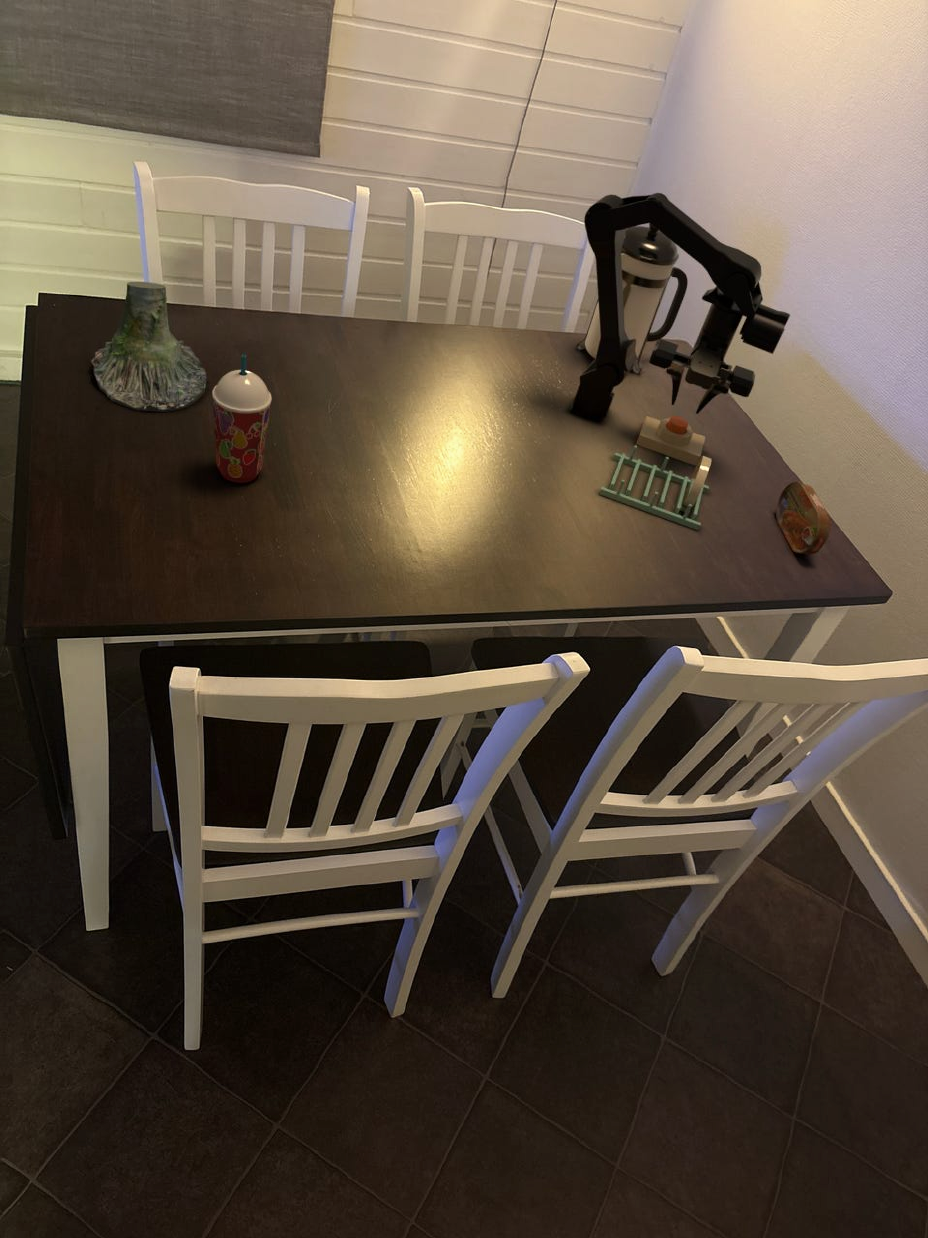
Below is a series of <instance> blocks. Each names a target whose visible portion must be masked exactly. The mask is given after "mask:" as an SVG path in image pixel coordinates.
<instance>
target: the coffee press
mask: <svg viewBox="0 0 928 1238" xmlns="http://www.w3.org/2000/svg"><path fill="white" fill-rule="evenodd" d="M678 248H679V247H678V245H676V244H675V243H674V242H673V241H671V240H670V239H669V238H668V237H666V236H665V235H664V234H663V233H661V232H660V231H659V230H658V229H657V228H655V227H654V226H653V225H652V224H650V223H648V226H644V225H643V226H642V225H638V226H634V227H631V228H627V229H626V232H625V236H624V241H623V245H622V249H621V263H622V284H623V304H624V325H625V332H626V335H627V337H628V339H629V340H631V339H636V348H635V351H636V355H637V358H638V359H637V360H636V362H635V363H634V364H636V363H637V366H638V369H639V370H637V369H636V366H635V365H634V366H633V368H632V371H633V373H634V374H636V375H638V374H640V373H641V372H642V370H643V366H642V363H641V358H642V354H643V353H644V349H645V347H646V345H647V343H648V342H649V343H652V342H657V341H658V340H660V339H663V338H664V337H665V336H666V335H668V333H669V332H670V331H671V330H672V329H673V328H672V327H673V326H674V323H675V321H676V319H677V317H678V313H679V312H680V309H681V306H682V304H683V301H684V298H685V295H686V293H687V290H688V282H689V280H688V276H687V274H686V273H685V271H683V270H682V269H681V268H679V267H676V266H675V264H676V263H678V260H679V257H680V255H679V252H678ZM671 277H672V278H675V279H676V280H677V287H676V291H675V294H674V296H673V298H672V301H671V304H670V307H669V309H668V312H667V314H666V317H665V320H664V322H663V324H662V325H661V327H660V328H659V329H658V330H655V331H654V332H651V330H652V329H653V325H654V322H655V320H656V317H657V314H658V312H659V309H660V307H661V303H662V301H663V298H664V297H665V293H666V290H667V287H668V285H669V282H670V279H671ZM600 336H601V335H600V319H599V303H598V299H597V300H596V303H595V306H594V309H593V312H592V315H591V319H590V321H589V325H588V328H587V331H586V333H585V337H584V338H583V339H582V340H580V341H579V342H578V343H577V344H576V349H577V350H578V351H583V350H586V352H587V353H588V354H589V355H590V356H591V357H592V358H593V359H594V360H595V359H596V354H597V350H598V346H599V342H600ZM583 342H584V345H585V346H583V347H582V346H581V345H580V344H581V343H583Z"/></svg>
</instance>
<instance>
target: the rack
mask: <svg viewBox="0 0 928 1238" xmlns="http://www.w3.org/2000/svg"><path fill="white" fill-rule="evenodd" d="M637 449H638V445H634V446H633V448H632V450H631V453H630V455H629V456H626V453H623V452H622V453H617V452H615V453H614V456H613V458H612V460H613V461H615V462H618V464H617V465H616V469H615V471H614V474H613V476H612V479H611V482H610V484H609V486H608V488H607V487H604V486H602V487H601V488H600V491H599V496H603V497H606V498H608V499H611V500H614V501H617V502H619V503H622V504H624V505H628V506H630V507H633V508H635V509H638V510H642V511H644V512H647V513H649V514H652V515H655V516H657V517H660V518H663V519H666V520H669V521H671V522H673V523H677V524H679V525H682V526H684V527H687V528H690V529H692V530H695V531H699V530H700V528H701V524H702V523H701V521H700V522H699V521H697V520H696V518H697V517H698V512H699V508H700V503H701V499H702V495H703V493H704V494H707V493H708V492H709V489H710V486H709V485H706V484H705V483H704V484H703V487H702V489H701V491H700V494H699V496H698V498H697V500H696V502H695V504H694V505H693V507H692V505H691V504H689V505H688V507H687V509H686V511H685V512H683V513H684V514H683V515H681V514H679V513H680V509H681V505H682V501H683V497H684V494H685V493H686V490H687V487H688V485H689V482H690V480H691V478H690V479H689V476H686V475H685V476H682V475H678V474H676V473H673V470H669V471H668V470H665V469H666V466H667V464H668V462H669V460H670V456H665V458H664V461H663V462H662V465H661V468H659V467H658V465H656V464H653V465H651V464H649V463H646V462H643V461H642V459H640V458H638V459H635V458H634V457H635V454H636V452H637ZM622 465H627V466H629V467H632V468H633V471H632V474H631V476H630V479H629V481H628V485H627V488H626V490H625V493H624V494H623V493H621V492H622V489H623V488H624V485H625V483H626V480H625V479H621V481H620V483H619V486H618V488H617V490H616V491H614V490H613V489H614V486H615V484H616V481H617V479H618V476H619V473H620V470H621V467H622ZM638 470H640V471H643V472H646V473H647V474H648V473H649V475H648V478H647V481H646V485H645V487H644V490H643V493H642V496H641V500H640V499H637V498H634V497H631V496H630V494H631V491H632V488H633V486H634V482H635V480H636V476H637V474H638ZM655 476H656V477H659V478H663V479H665V480H664V483H663V486H662V490H661V493H660V495H659V492H658V491H655V492H654V493H653V495H652V498H651V501H650V503H647V502H646V500H647V498H648V495H649V492H650V489H651V487H652V483H653V480H654V477H655ZM670 482H673V483H676V484H678V485H680V488H679V492H678V496H677V499H676V502H675V507H674V510H673V511H670V510H667V509H664V508H663V505H664V502H665V499H666V496H667V492H668V489H669V486H670ZM658 495H659V496H660V498H659V499H658V503H657V506H656V505H654V504H655V503H656V500H657V497H658ZM691 507H692V509H691ZM689 511H690V512H691V514H690V512H689ZM688 513H689V514H690V518H689V517H688V516H689V514H688Z"/></svg>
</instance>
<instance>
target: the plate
mask: <svg viewBox="0 0 928 1238" xmlns="http://www.w3.org/2000/svg"><path fill="white" fill-rule="evenodd" d="M712 461H713V460H712V458H711V457H708V456H705V455H701V457H700V459H699V461H698V463H697V465H696V466H695V468H694V470H693V473H692V475H691V478H690V482H689V485H688V487H687V486H686V489H685V493H684V496H683V500H682V504H681V508H680V510H679V512H680V511H681V512H682V513H685V511H686V509H687V507H688V505H689V504H691V505H692V507H691V508H692V509H693V505H694V504H695V502H696V500H697V498H698V496H699V494H700V491H701V489H702V487H703V484H704V485H705V482H706V480H707V477H708V474H709V471H710V469H711V465H712ZM690 512H691V510H690V511H689V513H688V515H689V514H690Z"/></svg>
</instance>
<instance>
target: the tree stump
mask: <svg viewBox="0 0 928 1238" xmlns="http://www.w3.org/2000/svg"><path fill="white" fill-rule="evenodd" d="M125 295H126V296H125V299H124V307H123V314H122V319H121V323H120V326H119V327H118V328H117V329H116V331H115V332H114V334H113V337H112V338H111V341H106V342H105V347H103V348H99V349H98V350H97V351H95V353H94V358H92V359H90V363H91V365H92V366H93V367H92V370H93V375H94V377H95V380H96V382H97V385H98V388H99V389H100V391H102V392H103V394H105V395H106V396H107V398H108V399H110V401H111V402H113V403H116V404H119V405H121V406H123V407H127V408H129V409H132V410H134V411H140V412H158V413H167V412H174V411H175V412H176V411H179V410H183V409H186V408H188V407H190V406H192V405H194V404H195V403H196V402H197V401H198V400H199V399H200V398H201V397H203V395H204V394H205V392H206V386H207V372H206V370H205V368H204V366H203V364H202V362H201V359H200V358H198V356H196V355H195V352H194V351H193V348H192V347H191V346H188V345H185V344H184V340H177V338H176V337H175V336H174V335H173V333H171V329H170V325H169V319H168V317H169V315H168V304H167V300H168V299H167V286H166V285H164V284H161V283H156V282H149V281H128V282H126V294H125Z"/></svg>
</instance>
